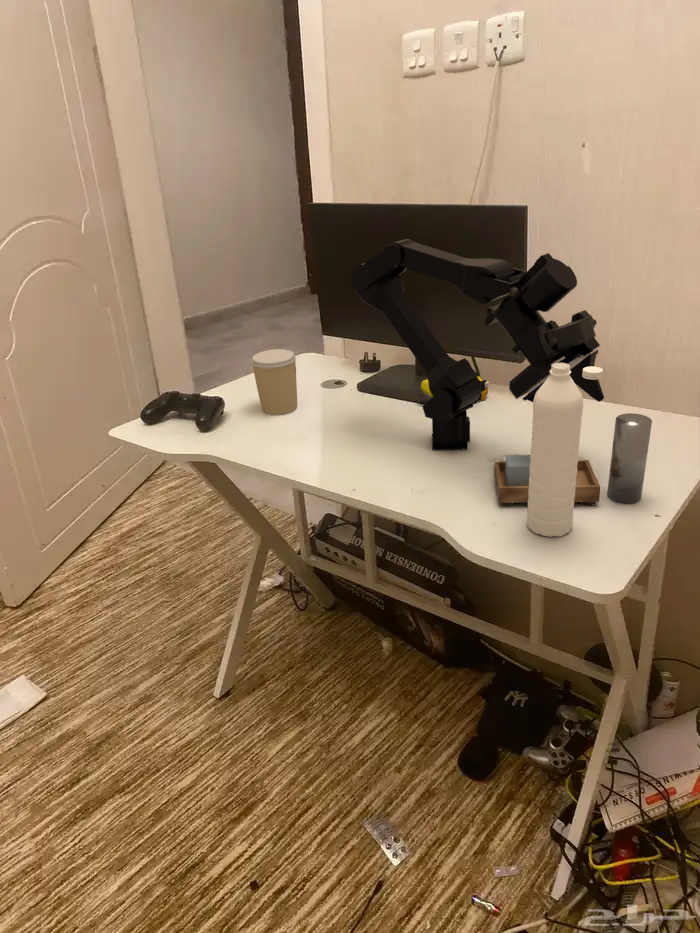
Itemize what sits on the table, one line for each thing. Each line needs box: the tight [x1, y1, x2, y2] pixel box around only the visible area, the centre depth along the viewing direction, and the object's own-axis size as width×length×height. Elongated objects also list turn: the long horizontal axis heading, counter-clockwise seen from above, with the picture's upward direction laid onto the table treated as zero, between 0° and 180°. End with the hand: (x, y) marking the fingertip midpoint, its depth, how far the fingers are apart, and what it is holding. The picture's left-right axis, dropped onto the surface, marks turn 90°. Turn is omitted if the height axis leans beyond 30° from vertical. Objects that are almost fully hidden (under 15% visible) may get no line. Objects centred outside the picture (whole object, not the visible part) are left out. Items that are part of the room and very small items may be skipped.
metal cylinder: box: [606, 412, 653, 505], centre depth 106 cm, size 5×5×13 cm
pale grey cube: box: [505, 454, 531, 486], centre depth 110 cm, size 4×4×4 cm
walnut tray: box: [493, 459, 601, 507], centre depth 110 cm, size 15×9×3 cm, turn 84°
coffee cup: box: [251, 348, 298, 417], centre depth 148 cm, size 9×9×12 cm
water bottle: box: [526, 363, 604, 538], centre depth 96 cm, size 9×6×25 cm
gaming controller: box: [420, 375, 490, 404], centre depth 147 cm, size 15×6×10 cm
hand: (587, 409), depth 107 cm, fingers open, 9 cm apart
